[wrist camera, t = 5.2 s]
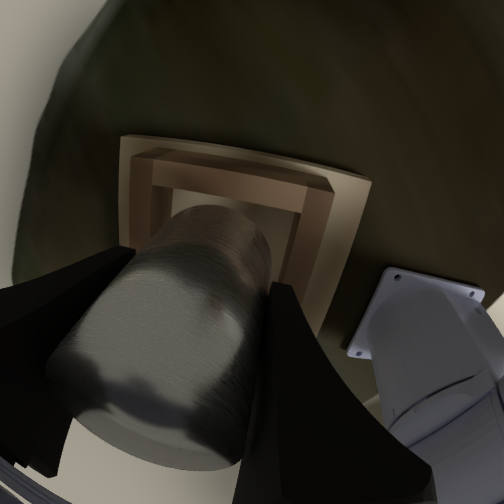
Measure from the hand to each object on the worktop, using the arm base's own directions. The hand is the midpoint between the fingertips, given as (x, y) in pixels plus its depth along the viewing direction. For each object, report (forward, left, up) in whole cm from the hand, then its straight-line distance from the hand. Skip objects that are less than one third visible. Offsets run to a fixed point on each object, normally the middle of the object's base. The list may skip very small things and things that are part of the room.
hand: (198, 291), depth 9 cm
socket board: (0, +6, -9) cm, 11 cm away
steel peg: (0, 0, -2) cm, 2 cm away
